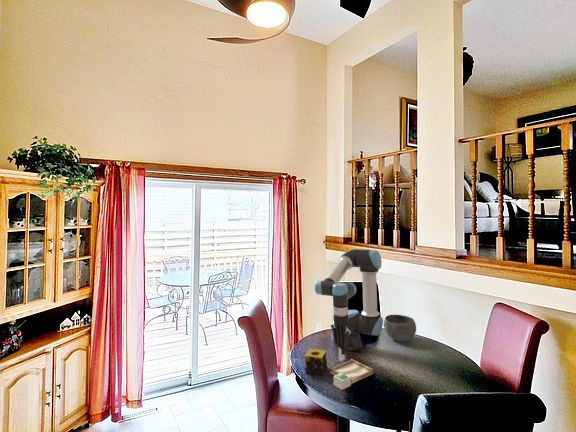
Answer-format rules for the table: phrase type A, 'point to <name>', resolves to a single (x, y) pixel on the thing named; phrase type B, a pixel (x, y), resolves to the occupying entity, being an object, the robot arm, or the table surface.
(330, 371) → the beige square tray
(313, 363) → the candle
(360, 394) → the table surface
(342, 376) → the button
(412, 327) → the bowl
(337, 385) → the button housing
